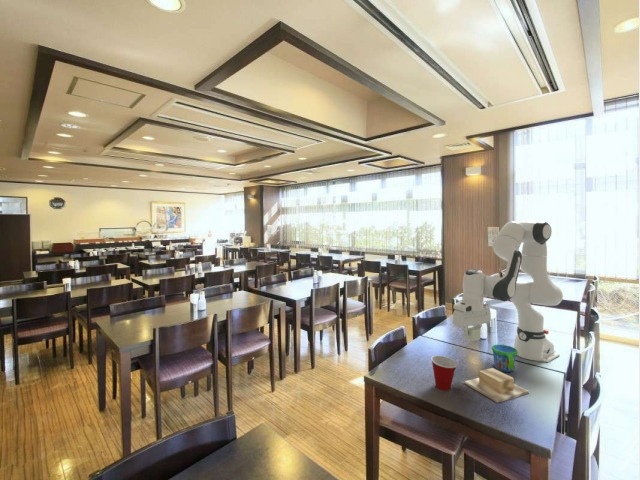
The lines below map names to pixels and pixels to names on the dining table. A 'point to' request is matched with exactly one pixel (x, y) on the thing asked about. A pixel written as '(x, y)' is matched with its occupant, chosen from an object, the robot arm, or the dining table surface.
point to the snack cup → (504, 357)
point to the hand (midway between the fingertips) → (471, 334)
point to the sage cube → (473, 333)
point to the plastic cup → (443, 371)
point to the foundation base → (494, 394)
